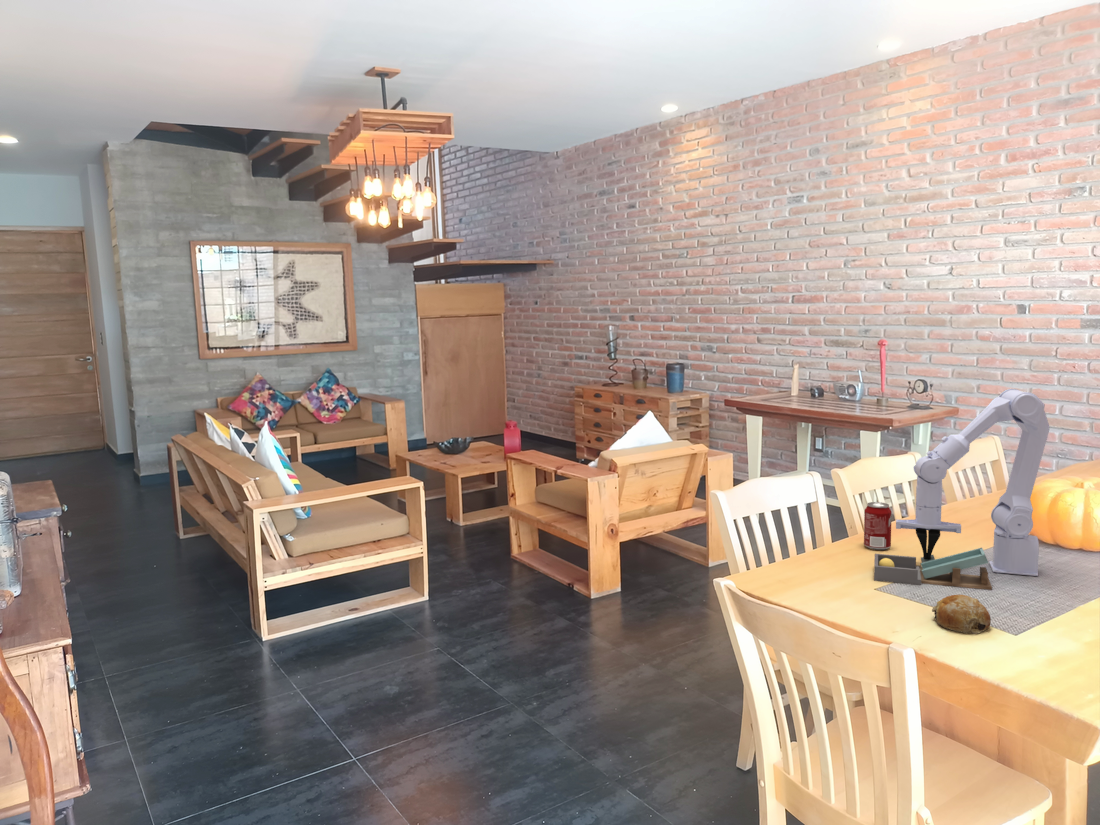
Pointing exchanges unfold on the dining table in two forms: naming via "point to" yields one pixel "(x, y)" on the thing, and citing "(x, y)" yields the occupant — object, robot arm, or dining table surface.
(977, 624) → the bread roll
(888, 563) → the ball
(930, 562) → the lever
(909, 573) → the tray
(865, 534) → the soda can
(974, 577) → the base
